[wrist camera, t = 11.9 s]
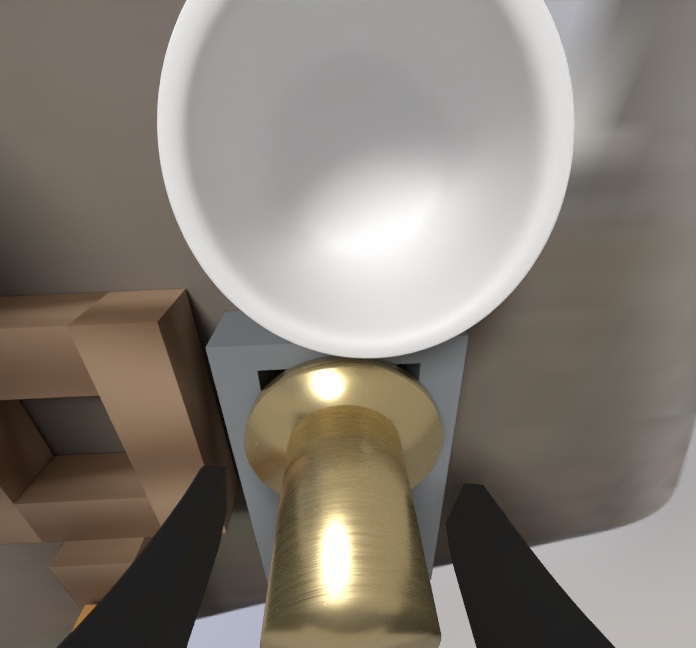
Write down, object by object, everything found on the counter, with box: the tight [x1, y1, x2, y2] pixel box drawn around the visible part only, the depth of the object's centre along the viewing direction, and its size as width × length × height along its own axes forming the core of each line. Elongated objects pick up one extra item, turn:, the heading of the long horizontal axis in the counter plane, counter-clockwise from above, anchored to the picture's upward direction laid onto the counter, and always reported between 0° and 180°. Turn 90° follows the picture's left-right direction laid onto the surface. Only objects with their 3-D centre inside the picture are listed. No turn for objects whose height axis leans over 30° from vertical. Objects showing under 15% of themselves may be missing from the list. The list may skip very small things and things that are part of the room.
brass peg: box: [244, 356, 443, 648], centre depth 12 cm, size 7×7×9 cm
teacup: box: [157, 0, 574, 358], centre depth 9 cm, size 10×8×5 cm
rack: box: [205, 311, 469, 582], centre depth 17 cm, size 15×8×2 cm, turn 2°
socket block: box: [0, 289, 239, 610], centre depth 16 cm, size 15×11×4 cm
